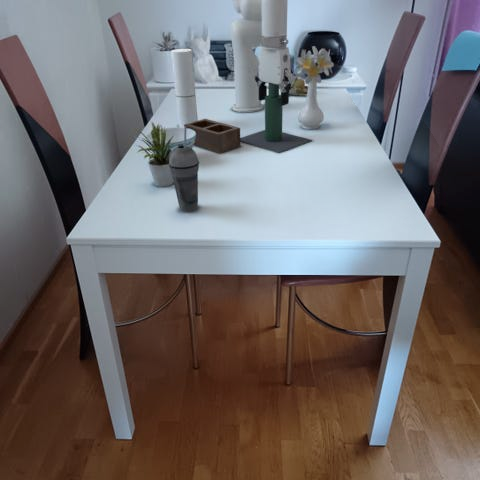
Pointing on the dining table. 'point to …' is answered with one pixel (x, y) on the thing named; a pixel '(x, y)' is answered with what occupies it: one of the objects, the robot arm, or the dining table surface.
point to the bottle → (273, 114)
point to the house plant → (159, 157)
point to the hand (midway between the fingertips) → (273, 102)
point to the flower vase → (313, 84)
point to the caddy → (215, 135)
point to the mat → (281, 146)
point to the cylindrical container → (184, 86)
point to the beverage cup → (185, 176)
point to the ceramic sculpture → (297, 87)
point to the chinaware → (176, 138)
